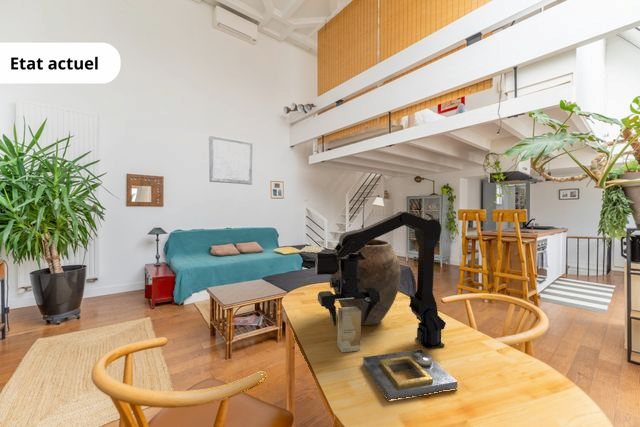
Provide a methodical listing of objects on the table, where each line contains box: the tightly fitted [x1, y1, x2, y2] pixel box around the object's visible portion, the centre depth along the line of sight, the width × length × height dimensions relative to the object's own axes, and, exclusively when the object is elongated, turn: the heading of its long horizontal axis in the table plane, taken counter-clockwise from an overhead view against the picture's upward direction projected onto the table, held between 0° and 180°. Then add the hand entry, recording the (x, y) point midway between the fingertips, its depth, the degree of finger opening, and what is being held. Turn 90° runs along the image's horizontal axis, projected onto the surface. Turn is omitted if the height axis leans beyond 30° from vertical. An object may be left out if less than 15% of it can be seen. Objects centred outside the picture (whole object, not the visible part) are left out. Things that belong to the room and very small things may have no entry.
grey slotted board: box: [362, 348, 458, 400], centre depth 72 cm, size 18×15×3 cm
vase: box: [330, 238, 402, 326], centre depth 106 cm, size 26×26×30 cm
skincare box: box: [336, 306, 362, 353], centre depth 85 cm, size 6×4×12 cm
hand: (349, 324), depth 85 cm, fingers open, 9 cm apart
